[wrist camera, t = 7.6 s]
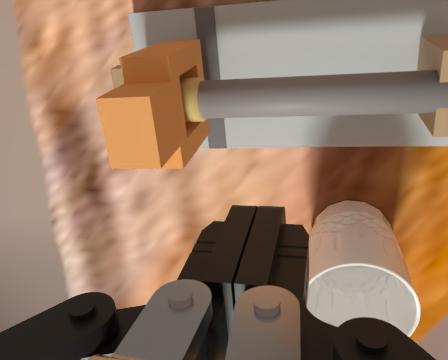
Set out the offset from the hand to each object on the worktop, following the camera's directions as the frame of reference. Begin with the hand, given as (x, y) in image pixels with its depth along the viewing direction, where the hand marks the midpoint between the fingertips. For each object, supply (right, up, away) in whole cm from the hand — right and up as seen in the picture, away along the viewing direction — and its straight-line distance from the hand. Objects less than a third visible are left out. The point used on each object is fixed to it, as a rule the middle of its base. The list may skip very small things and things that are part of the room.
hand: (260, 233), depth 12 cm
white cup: (+10, -3, +26) cm, 28 cm away
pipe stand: (+4, +10, +21) cm, 23 cm away
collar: (-4, +8, +20) cm, 22 cm away
